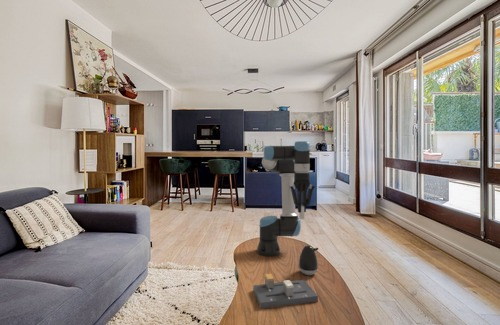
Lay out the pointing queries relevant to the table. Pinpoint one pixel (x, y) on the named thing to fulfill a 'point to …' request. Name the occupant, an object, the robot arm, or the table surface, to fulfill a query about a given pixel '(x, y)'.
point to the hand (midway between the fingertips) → (301, 218)
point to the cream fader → (288, 288)
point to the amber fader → (269, 281)
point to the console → (279, 298)
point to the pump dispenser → (308, 261)
